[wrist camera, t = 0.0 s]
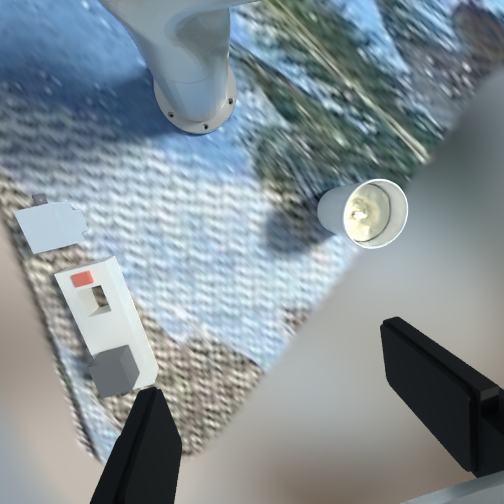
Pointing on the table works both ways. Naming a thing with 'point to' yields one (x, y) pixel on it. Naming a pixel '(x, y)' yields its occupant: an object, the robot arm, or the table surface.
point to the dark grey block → (114, 371)
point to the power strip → (107, 313)
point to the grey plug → (51, 224)
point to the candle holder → (365, 212)
